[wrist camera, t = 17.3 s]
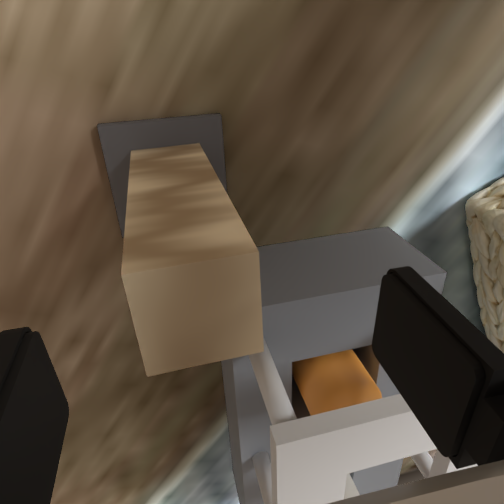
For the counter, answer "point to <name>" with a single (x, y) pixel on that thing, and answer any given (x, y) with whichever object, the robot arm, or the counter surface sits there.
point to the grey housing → (313, 345)
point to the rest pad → (155, 136)
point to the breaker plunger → (334, 382)
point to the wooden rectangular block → (188, 263)
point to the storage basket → (488, 256)
